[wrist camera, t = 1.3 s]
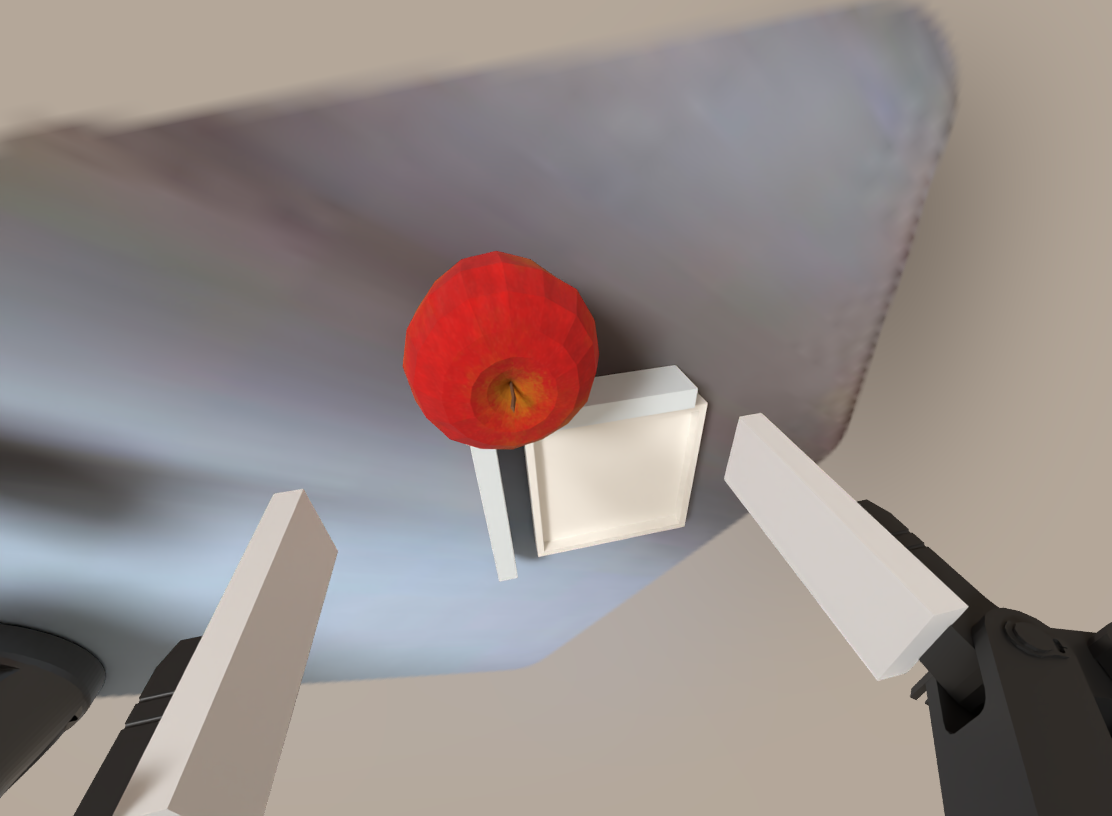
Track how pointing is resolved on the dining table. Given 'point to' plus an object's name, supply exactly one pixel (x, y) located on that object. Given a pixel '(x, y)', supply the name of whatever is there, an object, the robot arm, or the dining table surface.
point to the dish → (613, 479)
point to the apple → (500, 352)
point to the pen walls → (604, 404)
